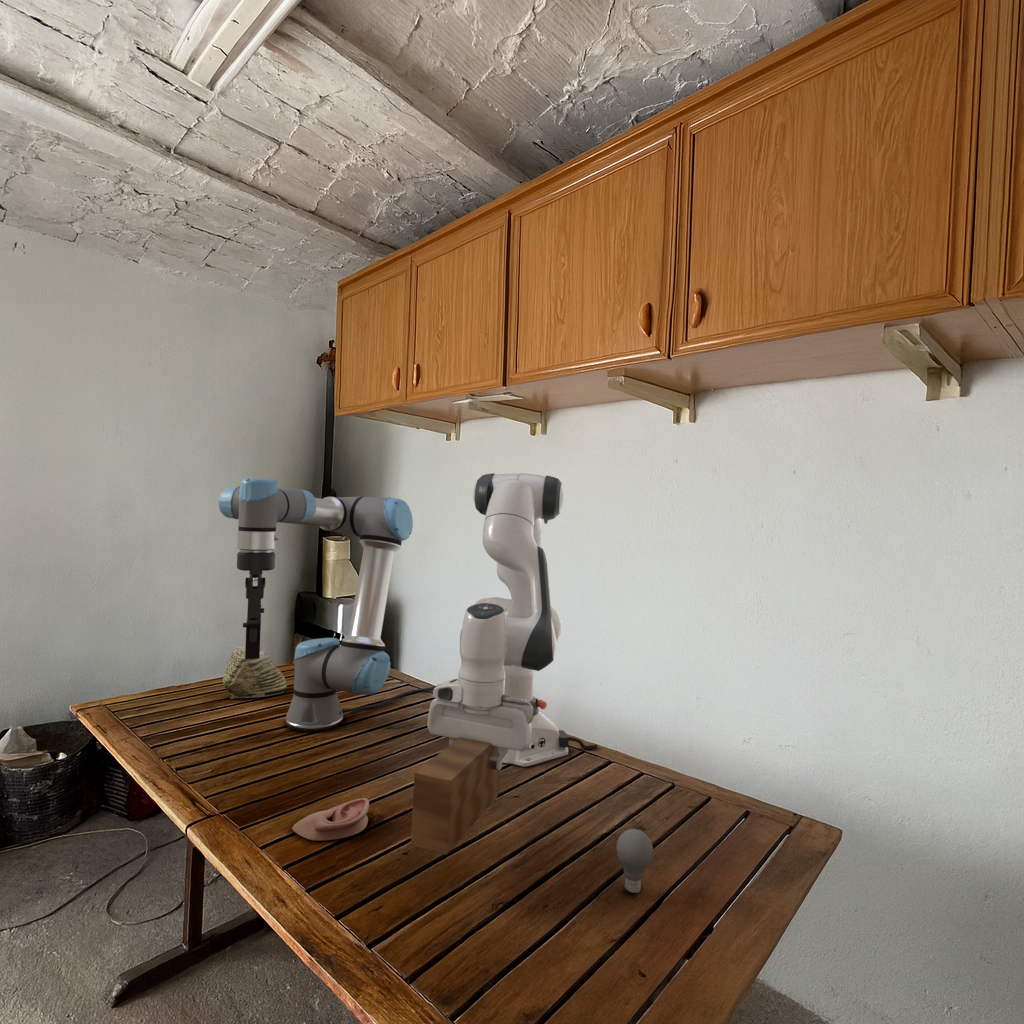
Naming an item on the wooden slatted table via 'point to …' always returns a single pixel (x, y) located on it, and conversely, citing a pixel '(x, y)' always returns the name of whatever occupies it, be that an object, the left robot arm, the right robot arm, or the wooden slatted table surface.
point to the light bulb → (634, 857)
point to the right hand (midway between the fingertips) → (477, 764)
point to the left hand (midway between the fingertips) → (252, 650)
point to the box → (452, 794)
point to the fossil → (252, 676)
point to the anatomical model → (335, 821)
